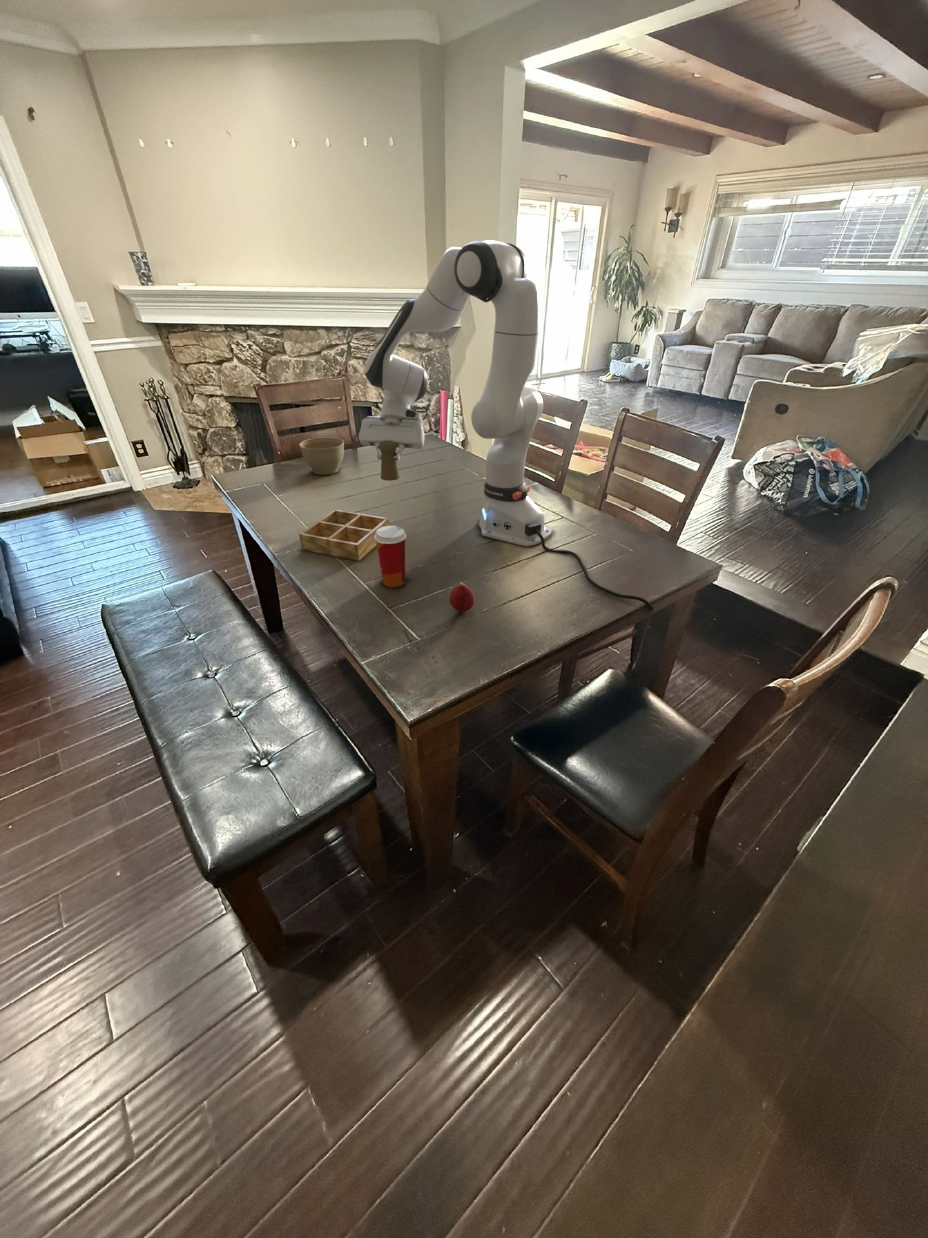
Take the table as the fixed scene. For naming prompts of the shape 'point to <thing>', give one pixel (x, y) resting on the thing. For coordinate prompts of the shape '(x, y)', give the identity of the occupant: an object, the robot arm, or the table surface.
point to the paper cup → (391, 555)
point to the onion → (462, 598)
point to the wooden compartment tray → (343, 534)
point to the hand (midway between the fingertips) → (388, 458)
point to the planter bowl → (323, 454)
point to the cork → (388, 461)
